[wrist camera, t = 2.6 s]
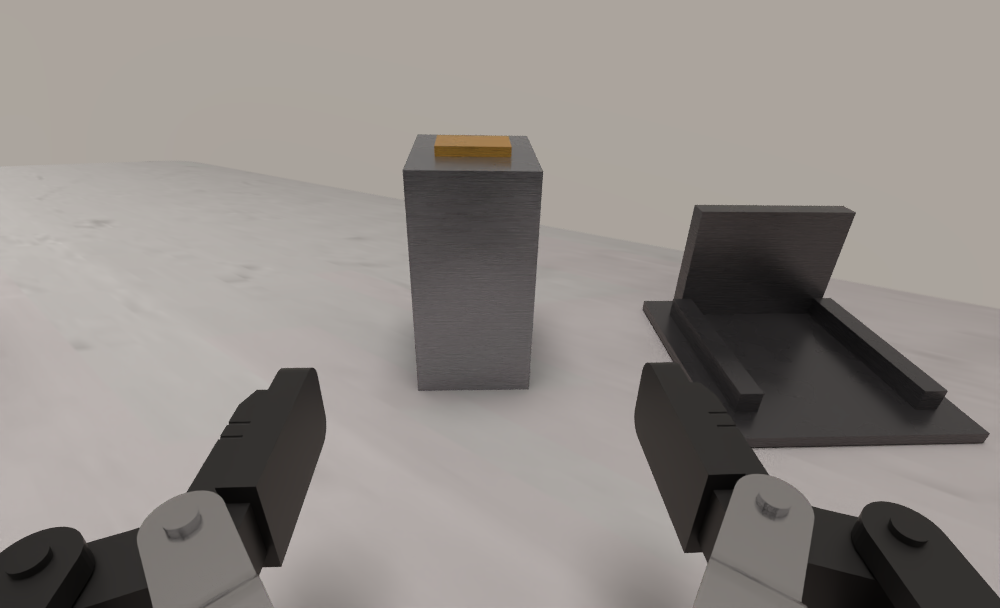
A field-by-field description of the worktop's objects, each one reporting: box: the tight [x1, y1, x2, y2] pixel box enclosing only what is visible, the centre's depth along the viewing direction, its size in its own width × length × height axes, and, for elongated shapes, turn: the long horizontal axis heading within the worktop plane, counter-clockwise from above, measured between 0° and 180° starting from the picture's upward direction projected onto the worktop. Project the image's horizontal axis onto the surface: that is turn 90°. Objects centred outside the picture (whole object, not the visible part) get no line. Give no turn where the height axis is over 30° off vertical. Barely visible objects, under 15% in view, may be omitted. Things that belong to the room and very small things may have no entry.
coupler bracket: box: [643, 205, 990, 447], centre depth 24 cm, size 11×11×6 cm
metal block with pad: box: [403, 135, 543, 391], centre depth 23 cm, size 6×5×10 cm
